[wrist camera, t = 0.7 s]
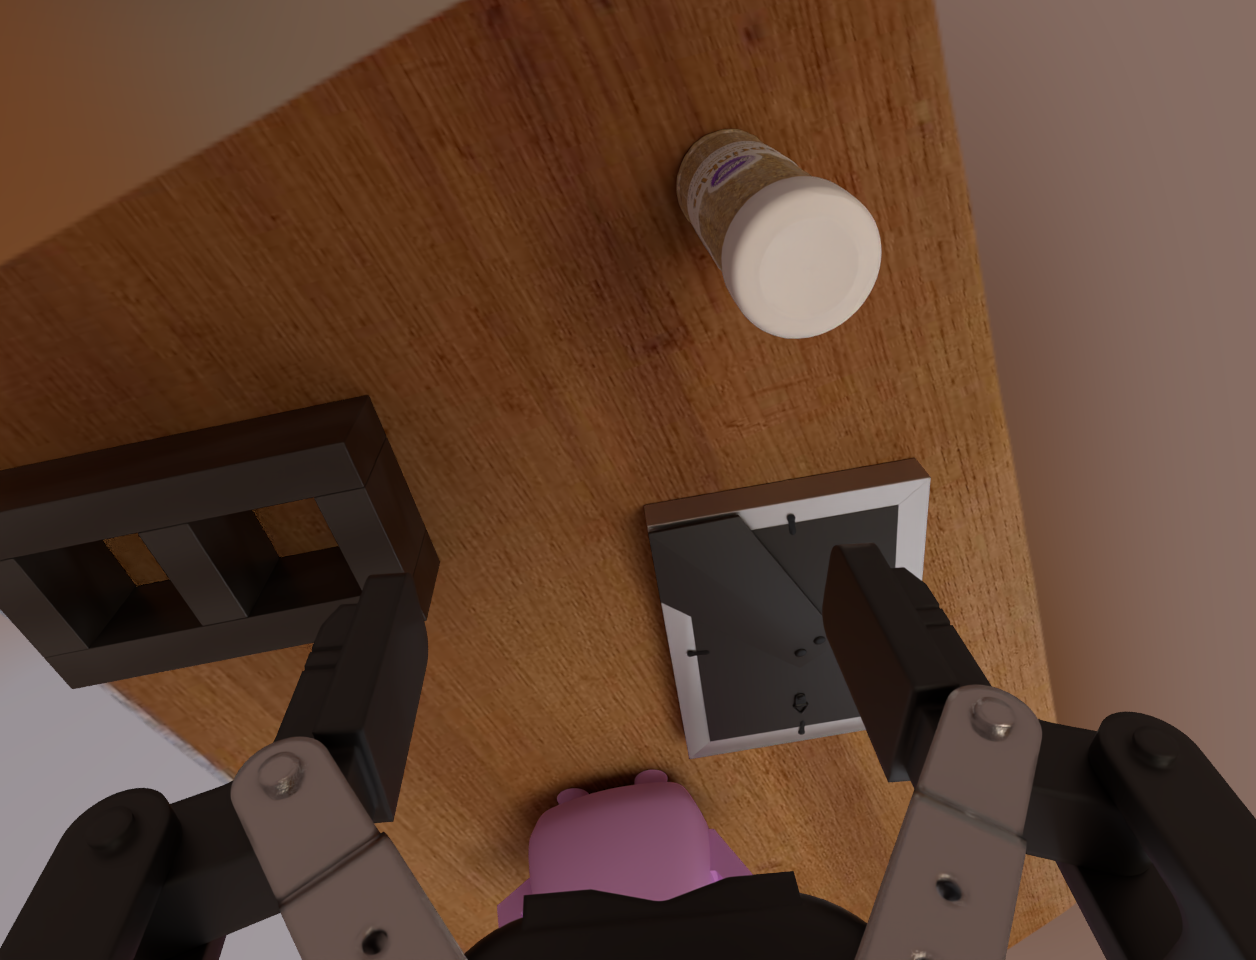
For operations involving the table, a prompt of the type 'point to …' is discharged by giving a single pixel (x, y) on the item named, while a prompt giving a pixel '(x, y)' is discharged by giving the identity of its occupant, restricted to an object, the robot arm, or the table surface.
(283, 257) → the table surface
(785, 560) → the picture frame
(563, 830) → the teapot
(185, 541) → the holder
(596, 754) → the table surface
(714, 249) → the spice jar
